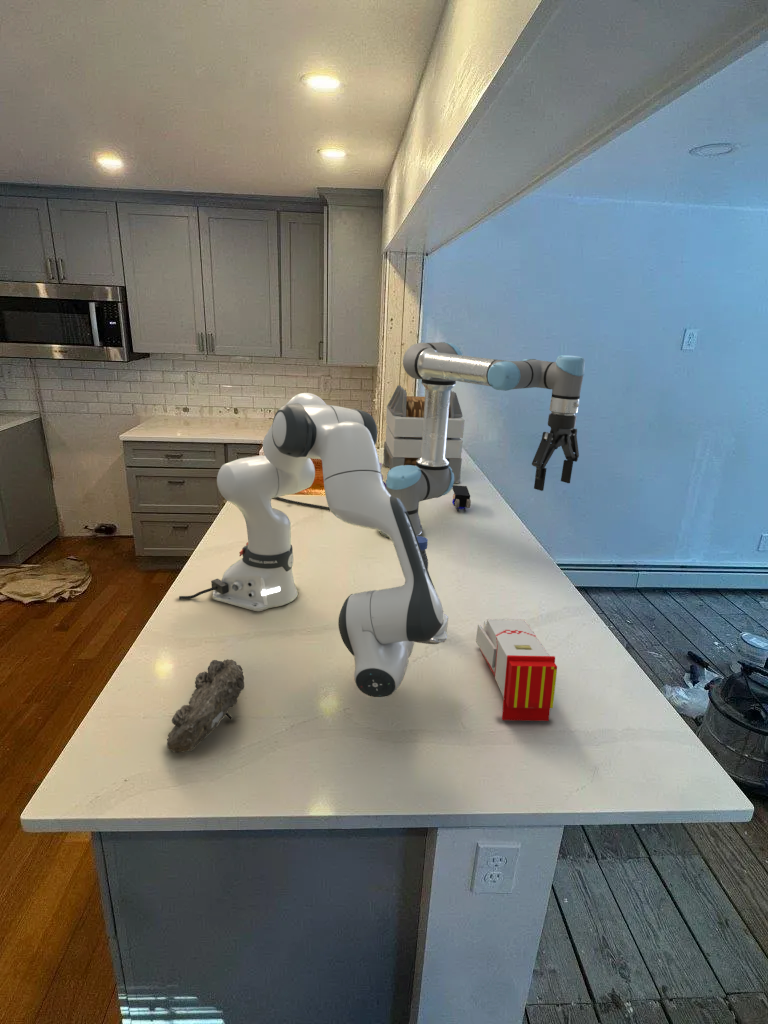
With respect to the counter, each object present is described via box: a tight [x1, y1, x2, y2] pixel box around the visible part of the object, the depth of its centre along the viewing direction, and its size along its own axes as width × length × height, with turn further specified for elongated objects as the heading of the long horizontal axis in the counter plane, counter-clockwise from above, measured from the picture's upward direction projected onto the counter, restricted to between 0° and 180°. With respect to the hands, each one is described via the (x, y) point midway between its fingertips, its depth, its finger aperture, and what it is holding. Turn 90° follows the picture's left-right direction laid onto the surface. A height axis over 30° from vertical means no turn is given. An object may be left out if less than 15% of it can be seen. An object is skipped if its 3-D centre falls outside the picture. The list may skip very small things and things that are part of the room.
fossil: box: [166, 658, 245, 754], centre depth 106 cm, size 22×10×15 cm
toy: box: [475, 618, 558, 722], centre depth 122 cm, size 12×13×30 cm
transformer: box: [382, 384, 465, 484], centre depth 268 cm, size 34×33×41 cm
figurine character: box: [451, 484, 472, 513], centre depth 228 cm, size 7×8×15 cm
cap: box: [416, 535, 429, 551], centre depth 140 cm, size 4×4×2 cm
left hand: (404, 604), depth 125 cm, fingers open, 8 cm apart
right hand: (552, 485), depth 166 cm, fingers open, 13 cm apart
